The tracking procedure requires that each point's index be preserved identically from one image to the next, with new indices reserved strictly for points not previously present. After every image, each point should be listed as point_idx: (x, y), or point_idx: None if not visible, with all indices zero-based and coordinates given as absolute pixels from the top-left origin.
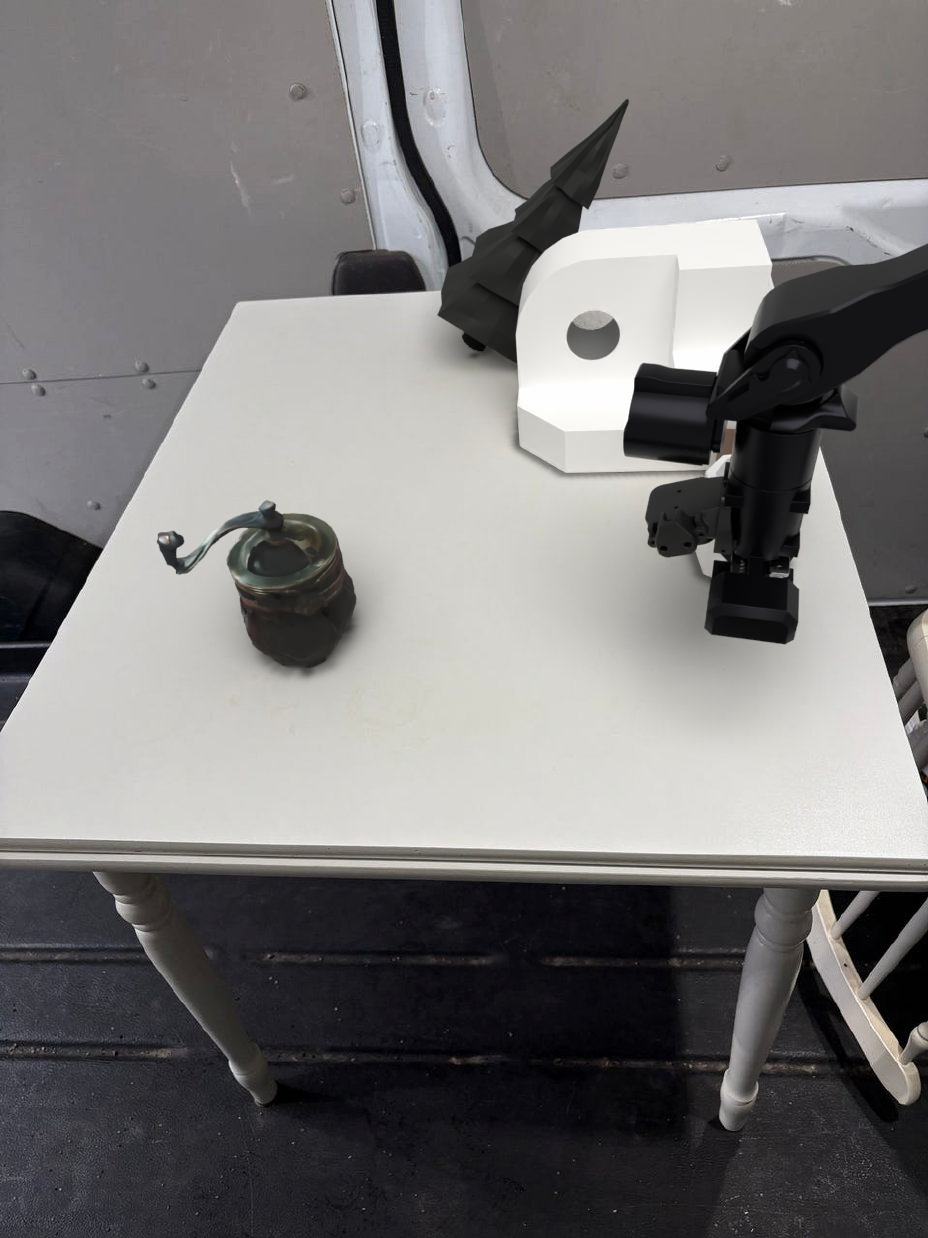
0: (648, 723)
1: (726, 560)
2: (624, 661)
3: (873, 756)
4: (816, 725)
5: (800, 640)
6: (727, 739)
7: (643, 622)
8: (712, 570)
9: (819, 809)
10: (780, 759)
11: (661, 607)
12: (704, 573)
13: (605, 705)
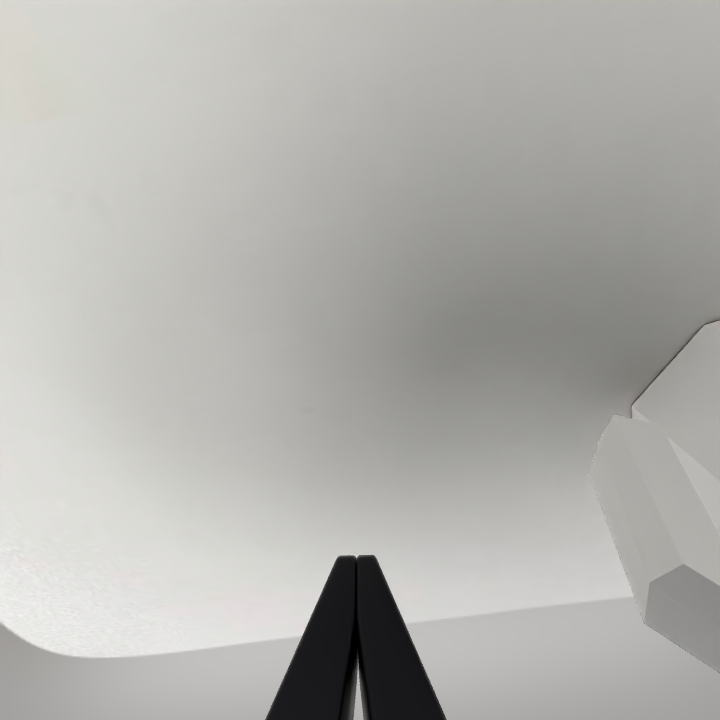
0: (24, 242)
1: (686, 567)
2: (248, 103)
3: (186, 623)
4: (215, 564)
5: (438, 538)
6: (93, 436)
7: (466, 146)
8: (707, 363)
9: (29, 572)
10: (100, 522)
11: (548, 206)
12: (704, 329)
13: (4, 64)
